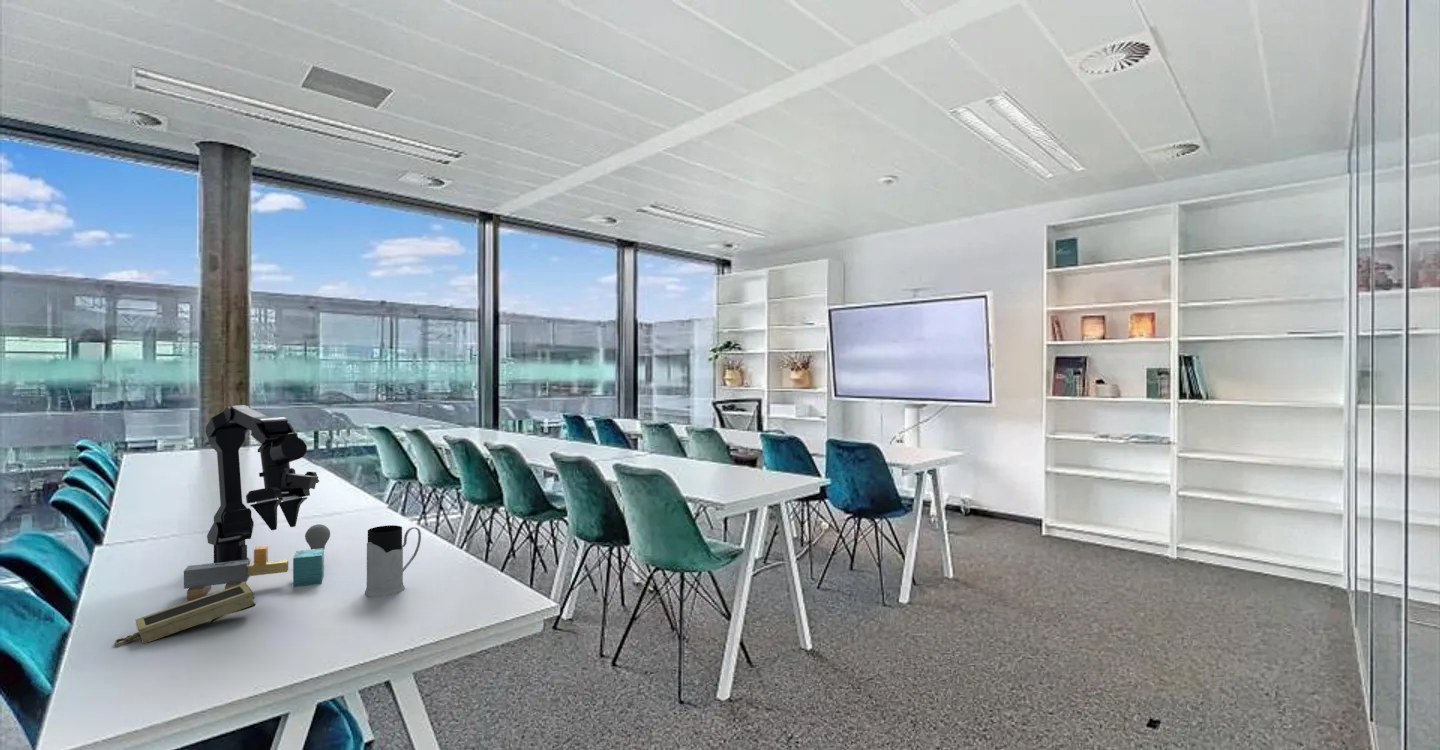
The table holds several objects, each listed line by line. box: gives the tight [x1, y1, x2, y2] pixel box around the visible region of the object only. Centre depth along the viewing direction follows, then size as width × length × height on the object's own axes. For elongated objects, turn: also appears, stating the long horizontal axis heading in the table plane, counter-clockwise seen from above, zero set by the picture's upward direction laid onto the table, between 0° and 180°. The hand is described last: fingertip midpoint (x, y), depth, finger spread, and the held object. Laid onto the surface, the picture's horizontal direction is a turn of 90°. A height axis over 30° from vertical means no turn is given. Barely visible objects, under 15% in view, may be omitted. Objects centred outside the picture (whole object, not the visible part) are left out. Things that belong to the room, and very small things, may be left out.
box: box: [114, 583, 257, 647], centre depth 135 cm, size 8×22×5 cm, turn 137°
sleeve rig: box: [183, 548, 325, 602], centre depth 159 cm, size 28×8×7 cm, turn 118°
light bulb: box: [304, 523, 331, 550], centre depth 181 cm, size 6×6×10 cm
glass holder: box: [364, 524, 422, 598], centre depth 161 cm, size 9×14×15 cm, turn 152°
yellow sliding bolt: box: [247, 545, 289, 577], centre depth 158 cm, size 19×3×6 cm, turn 118°
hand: (283, 528), depth 162 cm, fingers open, 9 cm apart
